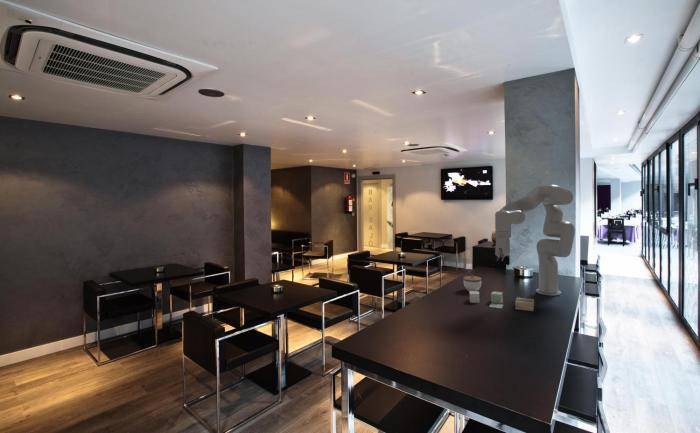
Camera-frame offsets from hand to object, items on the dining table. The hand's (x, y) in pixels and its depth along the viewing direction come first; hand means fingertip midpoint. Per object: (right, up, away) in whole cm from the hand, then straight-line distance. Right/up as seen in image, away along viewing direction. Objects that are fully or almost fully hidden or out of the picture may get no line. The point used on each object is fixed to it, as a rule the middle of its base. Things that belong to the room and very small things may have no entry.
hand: (503, 266), depth 176 cm
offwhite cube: (-12, -21, +9) cm, 26 cm away
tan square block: (+9, -21, -5) cm, 23 cm away
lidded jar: (-5, -20, +30) cm, 36 cm away
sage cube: (-1, -21, +6) cm, 21 cm away
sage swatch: (-4, -21, -1) cm, 21 cm away
